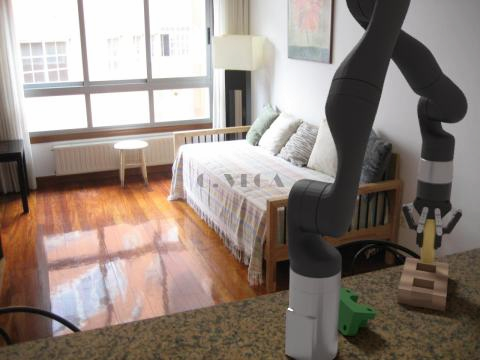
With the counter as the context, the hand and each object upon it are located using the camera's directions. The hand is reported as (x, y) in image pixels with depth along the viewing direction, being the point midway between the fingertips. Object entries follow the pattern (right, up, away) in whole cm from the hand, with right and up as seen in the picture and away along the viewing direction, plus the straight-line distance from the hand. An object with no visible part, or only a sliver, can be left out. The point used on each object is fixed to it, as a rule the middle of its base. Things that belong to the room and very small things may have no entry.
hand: (428, 247), depth 124 cm
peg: (0, -3, +1) cm, 4 cm away
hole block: (-2, -10, -2) cm, 10 cm away
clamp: (-22, -14, -15) cm, 31 cm away
